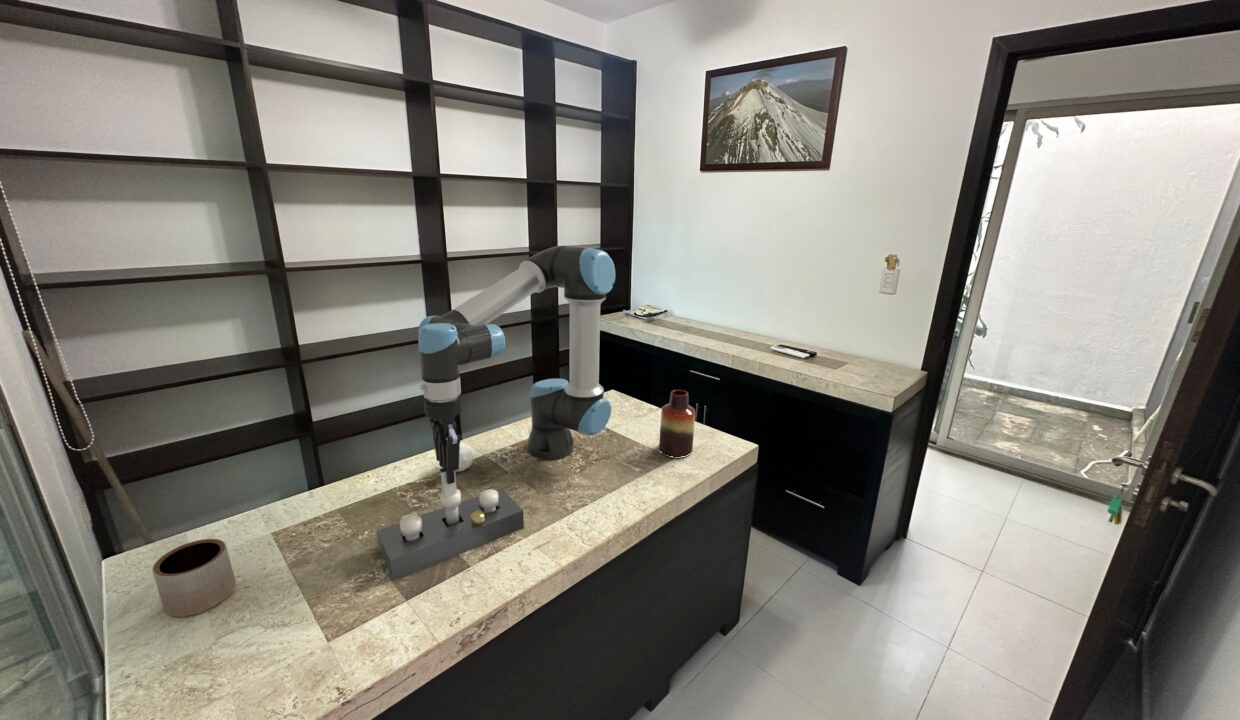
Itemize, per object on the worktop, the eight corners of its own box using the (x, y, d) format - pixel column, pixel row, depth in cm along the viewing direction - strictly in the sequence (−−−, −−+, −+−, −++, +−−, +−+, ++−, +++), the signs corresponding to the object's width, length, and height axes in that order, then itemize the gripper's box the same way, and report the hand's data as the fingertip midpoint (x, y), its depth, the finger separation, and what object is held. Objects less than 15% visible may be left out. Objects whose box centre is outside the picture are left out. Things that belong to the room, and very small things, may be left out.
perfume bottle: (483, 454, 146) (462, 478, 135) (465, 464, 150) (443, 489, 139) (466, 434, 145) (444, 457, 134) (449, 445, 148) (425, 468, 137)
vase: (669, 439, 167) (673, 384, 161) (697, 449, 161) (702, 391, 155) (652, 451, 159) (656, 393, 153) (682, 461, 153) (686, 401, 147)
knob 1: (421, 542, 112) (418, 512, 110) (427, 552, 109) (424, 522, 106) (401, 549, 109) (397, 519, 107) (406, 560, 106) (402, 529, 104)
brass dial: (481, 516, 115) (481, 509, 114) (486, 522, 113) (486, 515, 112) (469, 520, 113) (468, 513, 112) (474, 527, 111) (473, 520, 110)
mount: (502, 504, 128) (501, 488, 126) (523, 528, 119) (523, 510, 117) (378, 549, 110) (376, 530, 109) (392, 580, 101) (390, 560, 100)
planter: (153, 626, 89) (140, 583, 86) (177, 585, 98) (165, 545, 95) (227, 609, 93) (216, 567, 90) (243, 571, 102) (233, 532, 100)
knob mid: (458, 515, 116) (456, 486, 114) (465, 525, 113) (463, 495, 111) (440, 522, 114) (437, 492, 111) (446, 532, 110) (444, 501, 108)
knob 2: (495, 515, 123) (493, 487, 120) (502, 523, 119) (501, 495, 117) (478, 521, 120) (476, 493, 118) (485, 530, 117) (483, 501, 114)
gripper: (414, 390, 107) (423, 485, 113) (434, 410, 97) (442, 512, 104) (449, 384, 111) (455, 476, 118) (471, 402, 101) (476, 501, 108)
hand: (449, 493), depth 111 cm, fingers closed
